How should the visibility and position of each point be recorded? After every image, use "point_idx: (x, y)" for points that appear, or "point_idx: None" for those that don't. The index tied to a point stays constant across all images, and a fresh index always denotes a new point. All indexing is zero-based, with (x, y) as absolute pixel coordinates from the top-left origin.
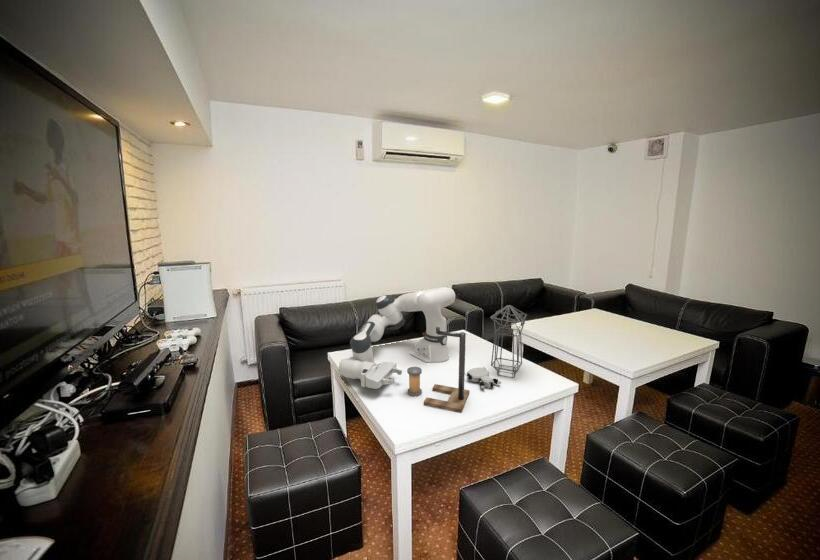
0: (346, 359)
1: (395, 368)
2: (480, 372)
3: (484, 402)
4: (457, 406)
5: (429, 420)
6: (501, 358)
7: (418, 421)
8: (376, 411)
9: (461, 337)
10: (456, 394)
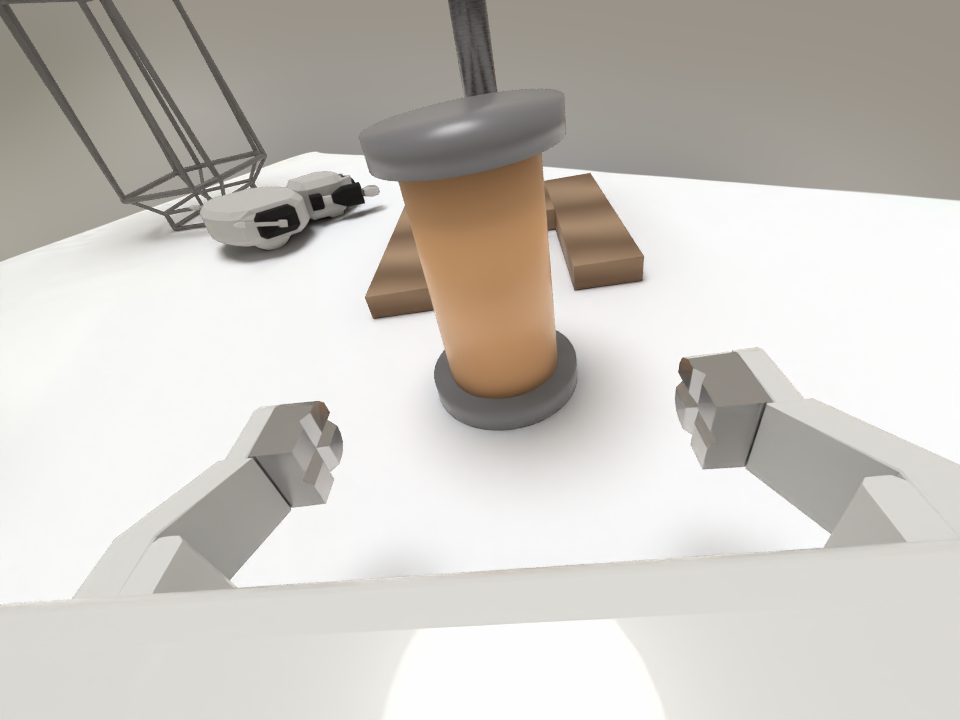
0: None
1: (156, 541)
2: (255, 195)
3: None
4: (575, 183)
5: (766, 219)
6: (127, 195)
7: (838, 237)
8: None
9: None
10: None
